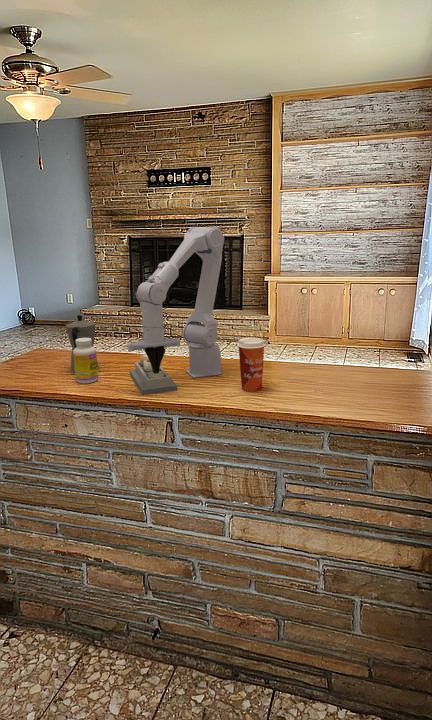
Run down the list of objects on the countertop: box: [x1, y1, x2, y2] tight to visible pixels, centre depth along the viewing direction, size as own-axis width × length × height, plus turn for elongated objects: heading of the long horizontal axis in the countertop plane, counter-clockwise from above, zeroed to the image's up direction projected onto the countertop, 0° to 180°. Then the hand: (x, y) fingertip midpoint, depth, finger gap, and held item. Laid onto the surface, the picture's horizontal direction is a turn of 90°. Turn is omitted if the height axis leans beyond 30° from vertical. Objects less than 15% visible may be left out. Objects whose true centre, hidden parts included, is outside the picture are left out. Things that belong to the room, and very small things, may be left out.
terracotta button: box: [139, 353, 149, 367], centre depth 156 cm, size 4×4×3 cm
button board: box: [129, 361, 178, 396], centre depth 152 cm, size 10×20×4 cm, turn 19°
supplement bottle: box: [73, 338, 99, 384], centre depth 154 cm, size 7×7×13 cm
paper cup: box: [237, 336, 266, 393], centre depth 143 cm, size 8×8×14 cm
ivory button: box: [144, 359, 153, 373], centre depth 151 cm, size 4×4×3 cm
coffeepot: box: [65, 314, 100, 374], centre depth 163 cm, size 15×9×18 cm, turn 1°
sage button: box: [148, 371, 164, 379], centre depth 146 cm, size 4×4×3 cm
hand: (155, 372), depth 145 cm, fingers closed, pressing on sage button
